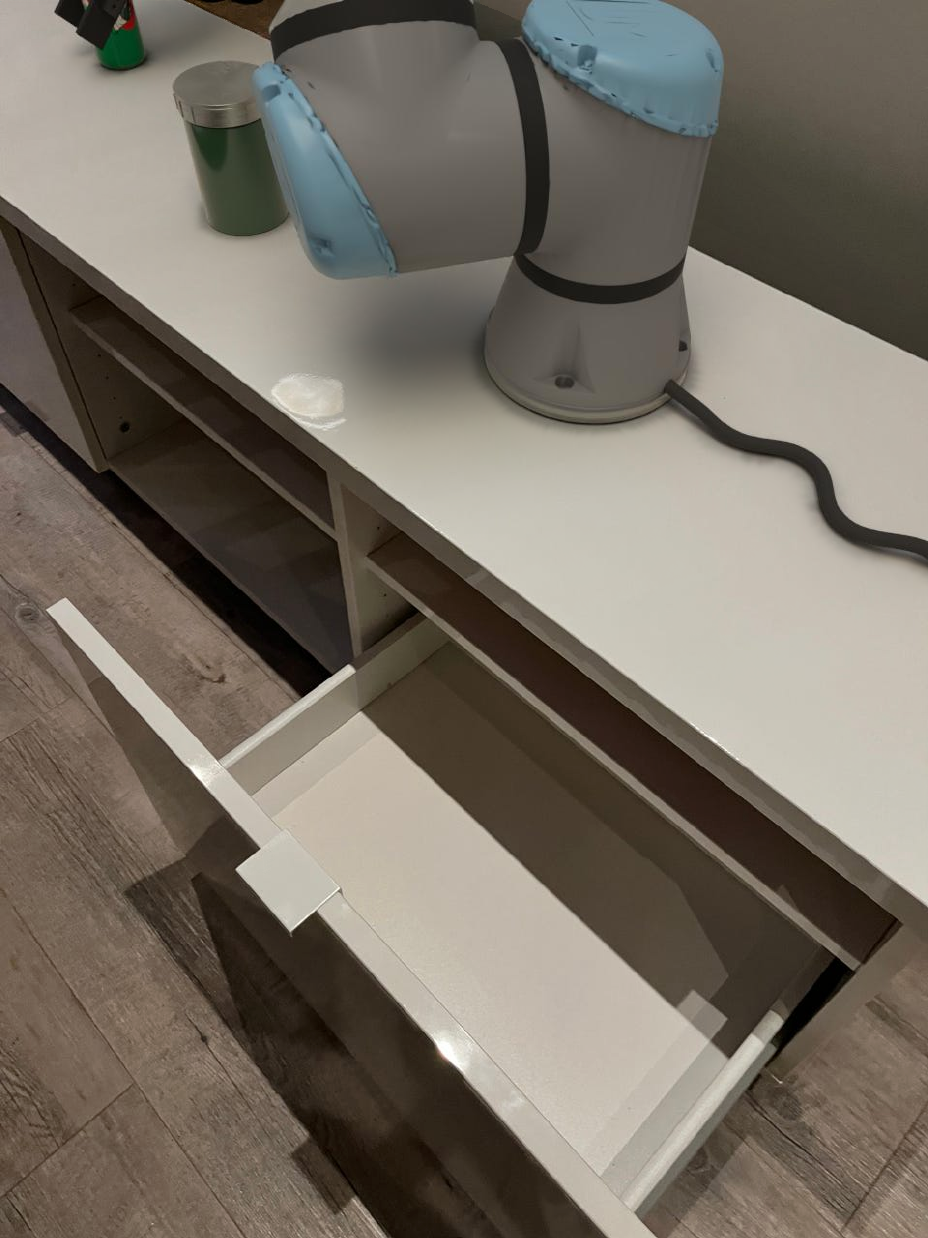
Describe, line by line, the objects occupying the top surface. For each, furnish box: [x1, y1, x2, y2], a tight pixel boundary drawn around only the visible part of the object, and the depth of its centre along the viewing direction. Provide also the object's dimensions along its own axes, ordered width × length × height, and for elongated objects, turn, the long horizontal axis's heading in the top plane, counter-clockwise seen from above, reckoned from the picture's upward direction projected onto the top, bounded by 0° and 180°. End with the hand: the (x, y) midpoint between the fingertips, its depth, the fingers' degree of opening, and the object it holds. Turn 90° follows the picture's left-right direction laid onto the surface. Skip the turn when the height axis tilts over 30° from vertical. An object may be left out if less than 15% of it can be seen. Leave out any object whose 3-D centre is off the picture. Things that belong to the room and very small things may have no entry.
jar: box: [182, 118, 289, 237], centre depth 77 cm, size 7×7×10 cm
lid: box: [172, 60, 261, 128], centre depth 73 cm, size 8×8×2 cm
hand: (78, 30), depth 94 cm, fingers closed on soda can, 5 cm apart
